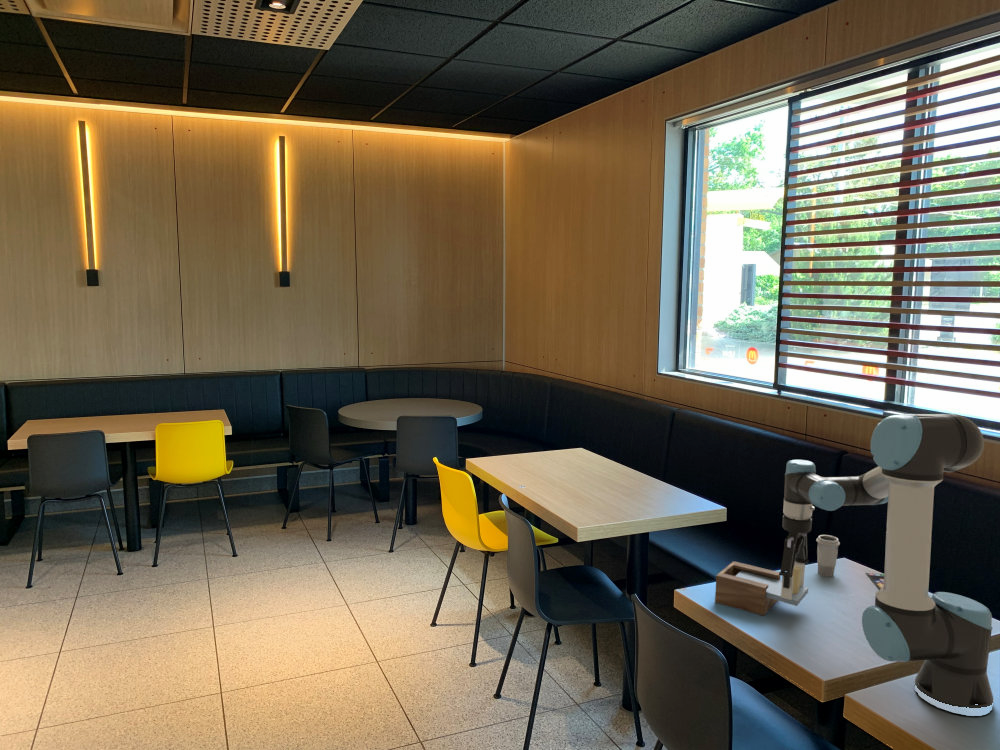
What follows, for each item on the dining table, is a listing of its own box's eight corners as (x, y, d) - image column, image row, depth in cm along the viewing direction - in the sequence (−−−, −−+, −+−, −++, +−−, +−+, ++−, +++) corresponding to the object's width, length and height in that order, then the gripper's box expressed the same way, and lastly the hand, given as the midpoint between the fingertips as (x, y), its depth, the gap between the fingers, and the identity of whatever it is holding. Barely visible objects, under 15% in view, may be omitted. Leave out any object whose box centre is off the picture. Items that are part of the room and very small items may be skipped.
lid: (796, 606, 203) (799, 576, 202) (728, 586, 214) (730, 558, 213) (807, 592, 212) (810, 564, 210) (741, 574, 223) (743, 547, 222)
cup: (842, 576, 237) (845, 539, 235) (828, 580, 233) (831, 543, 232) (822, 568, 243) (825, 533, 241) (809, 572, 239) (811, 536, 238)
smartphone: (892, 576, 238) (892, 572, 238) (910, 595, 223) (910, 592, 223) (865, 574, 239) (865, 571, 239) (881, 593, 224) (881, 590, 224)
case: (763, 615, 207) (765, 587, 206) (714, 602, 216) (716, 575, 215) (778, 599, 219) (780, 572, 217) (732, 586, 227) (733, 561, 226)
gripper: (799, 529, 194) (794, 609, 197) (822, 508, 213) (817, 581, 216) (770, 523, 199) (765, 601, 202) (795, 503, 218) (790, 575, 220)
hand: (792, 591), depth 209 cm, fingers closed on lid, 11 cm apart
